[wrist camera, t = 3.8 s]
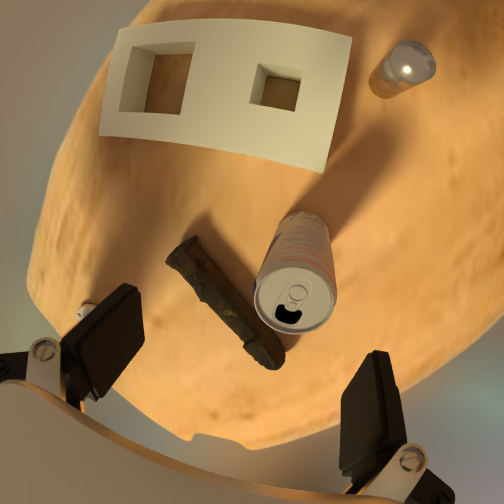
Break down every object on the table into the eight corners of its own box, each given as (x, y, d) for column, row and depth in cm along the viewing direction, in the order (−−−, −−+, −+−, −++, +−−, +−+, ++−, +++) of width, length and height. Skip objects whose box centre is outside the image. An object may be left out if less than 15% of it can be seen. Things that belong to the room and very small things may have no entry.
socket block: (321, 168, 24) (323, 173, 20) (123, 133, 26) (98, 135, 22) (346, 53, 19) (352, 37, 15) (142, 38, 21) (119, 28, 17)
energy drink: (269, 250, 28) (240, 320, 17) (285, 202, 26) (264, 250, 15) (317, 267, 28) (316, 346, 17) (337, 221, 25) (353, 281, 15)
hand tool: (174, 248, 31) (154, 265, 27) (197, 229, 29) (179, 245, 25) (268, 357, 35) (262, 383, 31) (293, 348, 33) (289, 374, 29)
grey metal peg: (395, 103, 20) (433, 87, 11) (366, 92, 20) (392, 69, 12) (400, 76, 18) (437, 51, 10) (371, 65, 19) (397, 33, 11)
